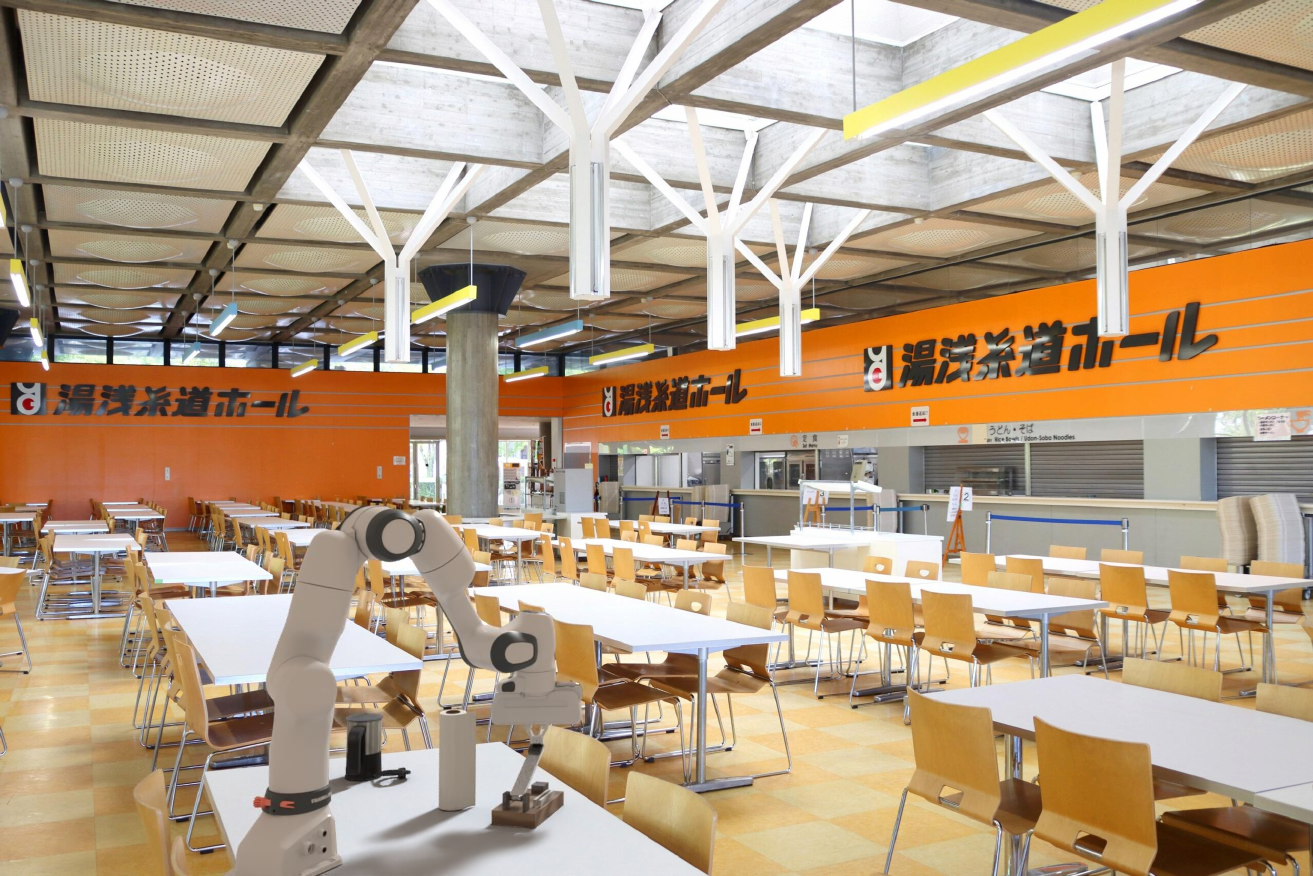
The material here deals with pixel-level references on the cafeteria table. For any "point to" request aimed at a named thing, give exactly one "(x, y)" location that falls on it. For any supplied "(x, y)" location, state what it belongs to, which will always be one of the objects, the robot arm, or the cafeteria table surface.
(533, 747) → the beige-grey bar
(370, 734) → the milk frother
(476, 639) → the robot arm
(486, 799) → the cafeteria table surface
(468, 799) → the paper towel roll
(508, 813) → the wooden base lever press
